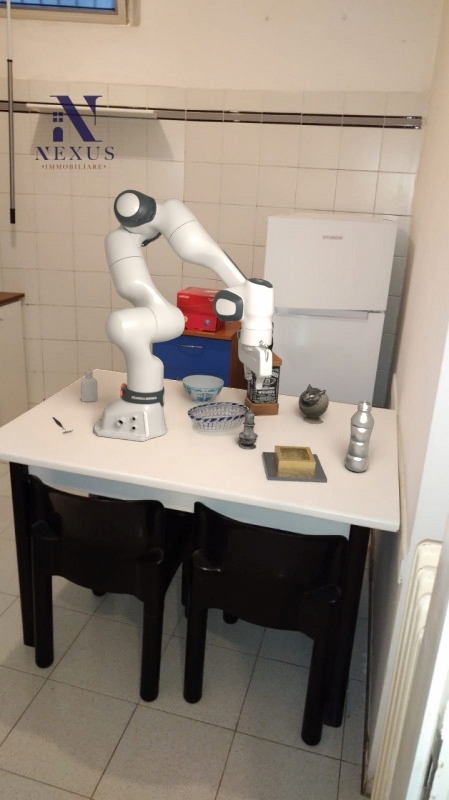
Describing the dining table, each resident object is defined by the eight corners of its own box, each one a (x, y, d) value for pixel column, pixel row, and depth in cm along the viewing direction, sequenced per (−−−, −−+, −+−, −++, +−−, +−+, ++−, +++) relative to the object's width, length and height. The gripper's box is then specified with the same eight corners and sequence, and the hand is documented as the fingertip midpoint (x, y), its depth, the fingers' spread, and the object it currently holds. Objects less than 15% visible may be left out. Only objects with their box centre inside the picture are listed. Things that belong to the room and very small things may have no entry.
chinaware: (226, 397, 215) (227, 378, 213) (217, 410, 202) (218, 389, 199) (188, 392, 218) (189, 373, 216) (176, 404, 205) (177, 384, 202)
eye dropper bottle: (83, 397, 206) (83, 365, 202) (99, 399, 205) (98, 366, 201) (79, 401, 202) (78, 368, 198) (94, 403, 201) (94, 370, 197)
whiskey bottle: (250, 415, 199) (258, 324, 188) (243, 406, 208) (250, 318, 197) (279, 415, 201) (288, 325, 191) (270, 405, 210) (278, 319, 200)
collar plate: (267, 480, 153) (269, 464, 152) (262, 454, 168) (263, 440, 167) (326, 482, 154) (328, 467, 153) (316, 457, 169) (317, 443, 168)
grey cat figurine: (292, 421, 197) (320, 427, 192) (295, 388, 193) (324, 393, 188) (303, 413, 205) (331, 419, 200) (306, 381, 201) (334, 386, 197)
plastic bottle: (353, 476, 159) (363, 408, 152) (339, 465, 165) (348, 400, 158) (372, 473, 161) (382, 406, 155) (357, 463, 167) (367, 398, 161)
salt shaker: (255, 451, 171) (258, 413, 167) (236, 448, 172) (238, 411, 168) (258, 443, 176) (261, 407, 172) (239, 441, 177) (242, 404, 173)
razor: (57, 418, 187) (57, 412, 186) (73, 435, 174) (73, 429, 174) (49, 419, 185) (48, 413, 185) (65, 437, 173) (65, 430, 172)
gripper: (279, 345, 154) (275, 394, 159) (255, 329, 173) (252, 373, 177) (257, 345, 153) (254, 395, 157) (235, 329, 171) (233, 374, 176)
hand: (253, 383), depth 167 cm, fingers open, 8 cm apart
